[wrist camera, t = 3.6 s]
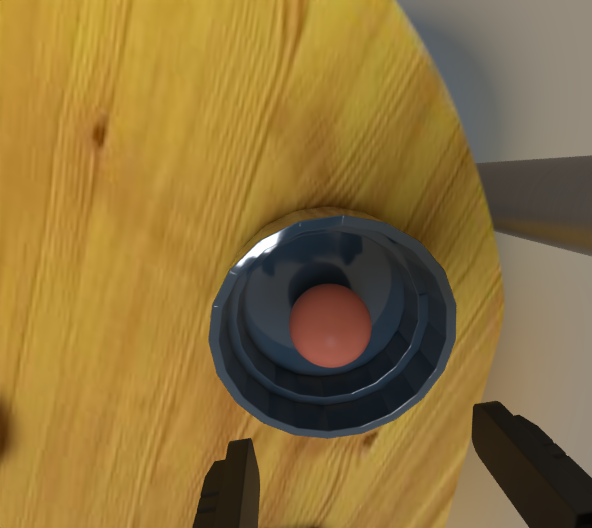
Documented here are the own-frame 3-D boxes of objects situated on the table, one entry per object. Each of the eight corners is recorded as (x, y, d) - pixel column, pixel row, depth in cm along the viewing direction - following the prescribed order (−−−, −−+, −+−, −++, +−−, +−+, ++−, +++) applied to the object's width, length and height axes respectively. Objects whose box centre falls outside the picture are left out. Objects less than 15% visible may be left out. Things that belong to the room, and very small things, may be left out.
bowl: (416, 192, 20) (459, 197, 15) (419, 371, 24) (454, 420, 19) (205, 223, 20) (181, 238, 15) (245, 396, 24) (236, 452, 19)
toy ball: (356, 267, 20) (381, 297, 16) (362, 333, 22) (385, 379, 17) (282, 278, 20) (283, 311, 15) (293, 343, 22) (296, 392, 17)
